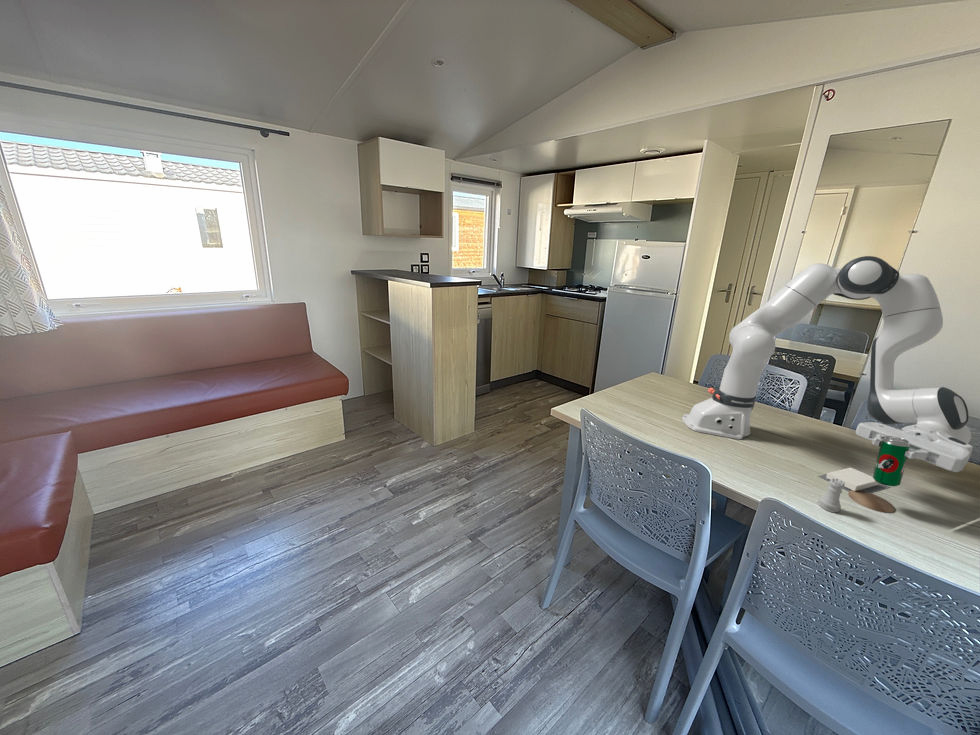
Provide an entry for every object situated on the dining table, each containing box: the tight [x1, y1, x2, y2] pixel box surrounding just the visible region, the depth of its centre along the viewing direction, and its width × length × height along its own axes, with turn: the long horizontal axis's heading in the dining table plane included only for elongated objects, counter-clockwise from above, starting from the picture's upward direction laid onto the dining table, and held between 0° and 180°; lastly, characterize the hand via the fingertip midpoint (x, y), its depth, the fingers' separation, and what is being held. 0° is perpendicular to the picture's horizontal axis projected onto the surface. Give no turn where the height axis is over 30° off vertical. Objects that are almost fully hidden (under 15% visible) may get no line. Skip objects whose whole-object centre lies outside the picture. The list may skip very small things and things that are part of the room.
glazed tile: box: [826, 467, 879, 491], centre depth 110 cm, size 2×7×11 cm
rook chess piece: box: [817, 478, 845, 513], centre depth 98 cm, size 4×4×8 cm
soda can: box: [872, 436, 910, 487], centre depth 97 cm, size 5×5×12 cm
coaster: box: [847, 490, 896, 514], centre depth 101 cm, size 9×9×1 cm
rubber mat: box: [817, 473, 892, 494], centre depth 110 cm, size 15×10×1 cm, turn 110°
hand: (891, 448), depth 96 cm, fingers closed on soda can, 5 cm apart
